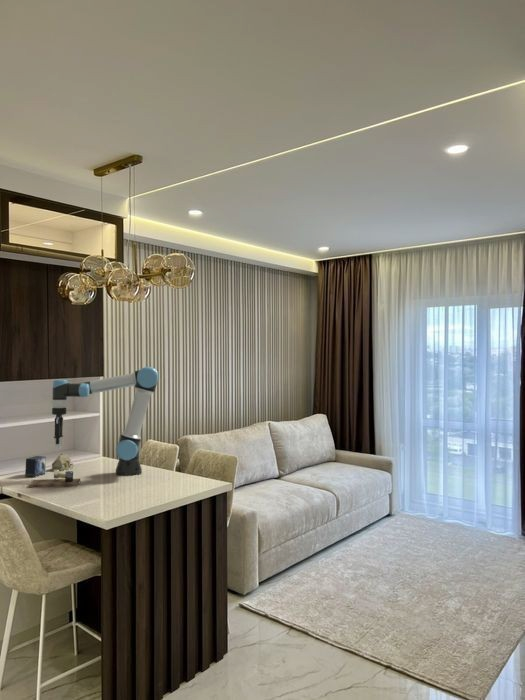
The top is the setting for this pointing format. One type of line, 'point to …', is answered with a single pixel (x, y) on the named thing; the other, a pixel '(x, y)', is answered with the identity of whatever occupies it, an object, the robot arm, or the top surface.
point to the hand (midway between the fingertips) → (58, 449)
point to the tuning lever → (64, 475)
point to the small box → (35, 466)
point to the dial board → (54, 483)
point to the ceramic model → (62, 463)
